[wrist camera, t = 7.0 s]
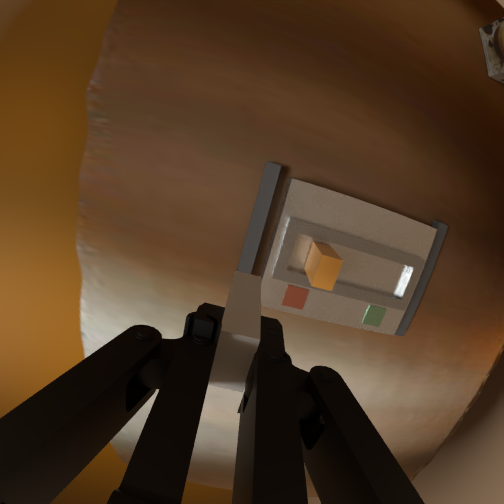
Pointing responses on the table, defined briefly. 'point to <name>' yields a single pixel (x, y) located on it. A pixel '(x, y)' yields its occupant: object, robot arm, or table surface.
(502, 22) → the coffee box
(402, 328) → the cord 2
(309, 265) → the lever
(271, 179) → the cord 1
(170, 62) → the table surface
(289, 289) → the panel
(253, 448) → the robot arm
